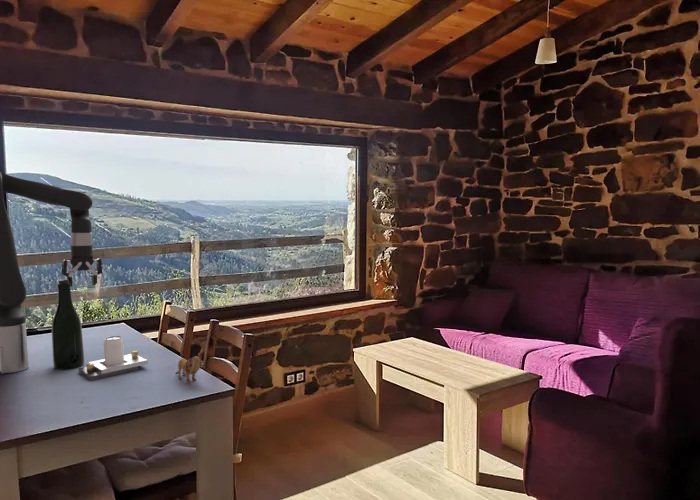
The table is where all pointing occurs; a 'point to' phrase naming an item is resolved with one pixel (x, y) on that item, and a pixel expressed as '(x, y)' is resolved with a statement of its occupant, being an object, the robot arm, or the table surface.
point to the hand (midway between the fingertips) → (82, 285)
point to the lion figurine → (189, 367)
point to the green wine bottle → (66, 331)
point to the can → (113, 351)
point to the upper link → (129, 362)
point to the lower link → (94, 375)
